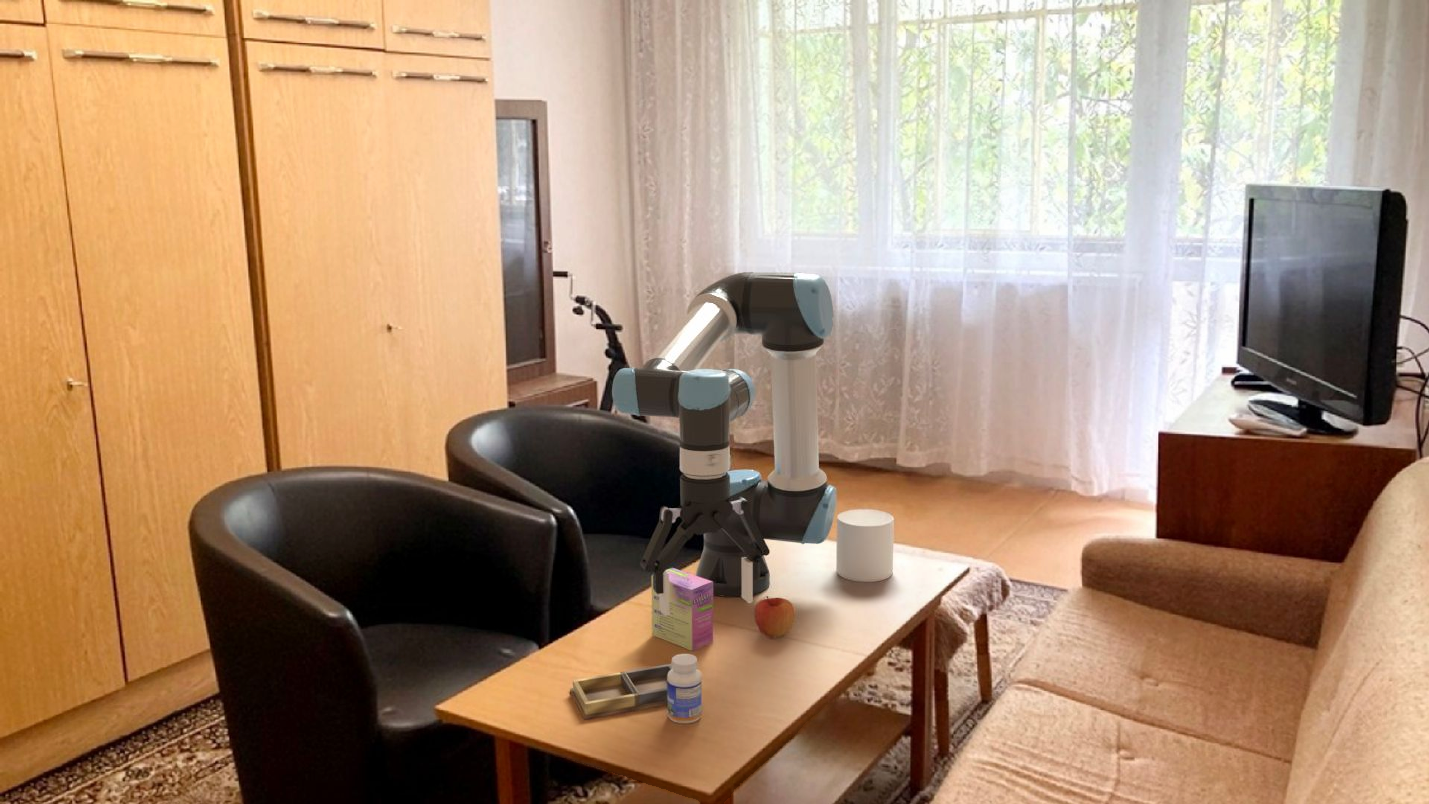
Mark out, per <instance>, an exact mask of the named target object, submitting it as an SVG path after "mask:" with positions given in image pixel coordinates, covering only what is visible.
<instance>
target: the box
mask: <svg viewBox="0 0 1429 804" xmlns="http://www.w3.org/2000/svg"><path fill="white" fill-rule="evenodd" d="M665 571H666V572H667V573H668V574H669V602H670V615H666V616H665V615H664V614H663V613H662V612H661V610H660V609H659V594H657V593H656V592H655V591H654V589H653V574H652V575H651V577H650V578H651V579H650V580H651V624H652V625H651V629H652V630H651V633H652V636H654V637H656V638H659V639H661V640H664V641H667V642H669V643H671V644H674V645H677V646H680V647H682V648H684V649H686V650H689V651H691V652H694V651H697V650H699V649H701V648H703V647H705V646H708V645H710V644H712V643H713V642H714V595H713V581H710V580H707V579H704V578H701V577H698V576H696V574H695V575H694V574H692V573H688V572H685V571H682V570H680V569H678V568H675V567H670V568H667V569H666V570H665Z"/></svg>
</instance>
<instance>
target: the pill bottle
mask: <svg viewBox="0 0 1429 804" xmlns="http://www.w3.org/2000/svg"><path fill="white" fill-rule="evenodd" d="M671 667H672V669H671V670H670V671H669V672H668V675H667V701H668V705H667V716H668V717H667V718H668V719H670V720H671V721H672V722H674V723H676V724H677V723H678V724H691V723H695V722H697V721H698V720H700V718H701V717H702V714H703V713H702V712H703V710H702V708H703V706H702V703H703V702H702V698H703V697H702V695H703V693H702V686H703V685H702V679H703V678H702V675H703V674H702V672H701V671H700V670H699V669H698V658H697V657H696V656H695V655H694V654H690V653H680V654H675V655H674V656H673V657H672V658H671Z"/></svg>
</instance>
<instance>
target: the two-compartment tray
mask: <svg viewBox="0 0 1429 804" xmlns="http://www.w3.org/2000/svg"><path fill="white" fill-rule="evenodd" d="M671 665H672V663H668V664H663V665H655V666H649V667H643V668H639V669H632V670H625V671H619V672H614V673H609V674H602V675H596V676H589V677H583V678H578V679H573V680H572V688H570V689H569V691H570V693H571V696H572V697H573V699H574V701H575V703H576V706H577V707H578V709H579V711H580V713H581V715H582V718H584V720H591V719H597V718H601V717H607V716H613V715H618V714H619V715H620V714H624V713H630V712H635V711H642V710H646V709H652V708H657V707H663V706H668V701H667V675H668V672H669V671H670V670H671V669H672V667H671Z"/></svg>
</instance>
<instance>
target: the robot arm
mask: <svg viewBox="0 0 1429 804" xmlns="http://www.w3.org/2000/svg"><path fill="white" fill-rule="evenodd" d="M830 291H831V290H830V287H829V286H828V284H827V282H826V280H825V279H824V278H823V277H822V276H820V275H818V274H811V273H802V272H753V271H747V272H746V271H745V272H738V273H733V274H731V275H728V276H725V277H723V278H721V279H719V280H717V281H714V282H713V283H712V284H710V285H708V286H707V287H705V288H704V289H702V290H701V291H700V292H699V293H698V294H697V295H695V297H693V299H692V301H690V302H689V305H688V307H687V311H686V316H685V317H684V318H683V319H682V320H681V321H680V322H679V323H678V325H677V326H676V327H675V328H674V329H673V331H671V333H670V334H669V335H668V336H667V337H666V338H665V339H664V341H663V342H662V343H661V344H660V345H659V347H658V348H657V349H656V350H655V351H654V352H653V354H652V355H650V357H649V358H648V359H647V360H646V362H645V363H644V364H642V366H641V367H639V368H638V367H637V368H636V367H635V366H632V367H623V368H621V369H619V370H618V371H617V372H616V374H615V376H614V377H613V382H612V388H611V396H612V401H613V405H614V408H615V409H616V410H617V411H618V412H620V413H621V414H627V415H635V416H637V417H641V416H644V417H645V416H647V417H664V418H677V419H679V420H678V421H679V424H678V425H679V470H680V472H681V475H680V477H679V480H680V481H679V482H680V483H679V485H680V486H679V487H680V488H679V489H680V491H679V493H680V495H679V496H680V503H679V504H680V505H679V507H676V508H675V507H674V508H671V507H669V508H668V506H665V505H663V506H661V507H660V510H659V516H658V517H659V520H658V523H656V524H657V525H656V526H655V529H654V531H653V534H652V536H651V538H650V540H649V542H648V544H647V547H646V549H645V551H644V554H643V555H642V558H641V560H640V563H639V564H640V567H642V568H643V570H644V571H645V572H646V573H652V575H653V589H654V591H655V592H656V593H657V594H659V609H660V610H661V612H662V613H663V614H664V615H665V616H666V615H670V602H669V574H668V573H667V572H666V571H665V570H667V569H668V567H669V566H670V565H671V564H672V562H673V560H674V559H675V558H676V557H677V555H678V554H679V553H680V551H681V550H682V548H683V547H684V545H686V543H687V542H688V541H689V540H690V539H692V538H693V536H694V535H695V534H696V535H697V536H700V535H701V536H702V535H703V548H702V549H703V550H702V553H701V555H700V559H699V562H698V565H697V568H696V571H695V576H698V577H701V578H704V579H707V580H710V581H713V596H717V597H718V596H719V597H734V598H735V597H741V598H742V599H743V600H744V601H745V602H747V603H748V604H751V603H753V602H754V601H753V599H754V597H753V595H756V594H758V593H760V592H763V591H765V590H766V589H767V588H768V587H769V586H770V584H771V583H770V582H771V581H770V580H771V577H770V574H771V573H770V570H769V569H770V568H769V566H768V563H767V560H766V558H765V556H769V555H770V552H771V550H770V549H769V547H768V544H767V543H766V541H765V540H767V541H768V540H769V541H779V542H787V543H797V544H801V545H804V544H811V545H812V544H813V545H815V544H816V545H818V544H822V543H823V542H825V541H826V539H827V538H828V536H829V534H830V531H831V529H832V527H833V521H834V517H835V513H836V508H837V499H838V498H837V497H838V496H837V495H838V494H837V488H836V487H835V486H832V485H831V484H830V485H828V477H827V474H826V472H825V471H823V470H822V469H821V468H819V467H820V466H819V465H820V464H819V423H818V419H819V417H818V416H819V415H818V387H817V386H818V385H817V384H818V381H817V380H818V379H817V378H818V377H817V376H818V374H817V352H818V351H819V350H821V348H822V347H823V346H824V344H825V339H826V338H828V337H829V336H830V335H831V333H832V332H833V326H834V322H833V321H834V320H833V319H834V305H833V299H832V294H831V292H830ZM739 334H740V335H742V334H744V335H754V336H755V335H757V336H760V337H761V346H762V348H763V349H764V350H765V351H766V352H768V353H769V355H770V372H771V373H770V374H771V379H770V380H771V399H772V401H771V402H772V404H771V405H772V423H773V447H774V448H773V449H774V450H773V452H774V453H773V456H774V469H773V470H772V471H771V472H770V473H769V475H768V476H767V480H762V476H761V473H760V472H759V470H754V469H735V470H733V469H732V470H730V467H731V465H730V464H731V463H730V462H731V458H730V455H731V454H730V453H731V452H730V450H731V449H730V447H731V446H730V443H731V441H730V439H731V438H730V430H731V429H730V425H731V424H730V423H731V422H733V421H735V420H736V419H738V418H740V417H742V416H743V415H745V414H746V413H747V411H748V410H749V408H751V406H752V405H753V403H754V401H755V397H756V388H755V385H754V381H753V380H752V379H751V377H750V376H749V375H748V374H747V373H745V372H744V371H743V370H740V369H737V368H729V369H728V368H727V369H723V370H720V369H716V368H713V369H712V368H700V367H701V366H702V365H703V363H704V362H705V361H706V359H707V358H708V357H709V355H710V354H711V353H712V352H713V351H714V349H715V348H716V347H717V345H718V344H719V343H721V342H723V341H726V340H727V339H729V338H730V337H731V336H732V335H739ZM677 518H680V519H681V520H682V521H681V522H680V523H679V525H678V526H677V528H676V531H675V533H674V534H673V535H672V537H671V538H670V539H669V541H668V542H667V544H666V545H665V543H666V540H667V537H668V536H669V534H670V531H671V529H672V525H673V524H674V523H675V522H676V520H677ZM664 545H665V546H664ZM663 547H664V548H663Z"/></svg>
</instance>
